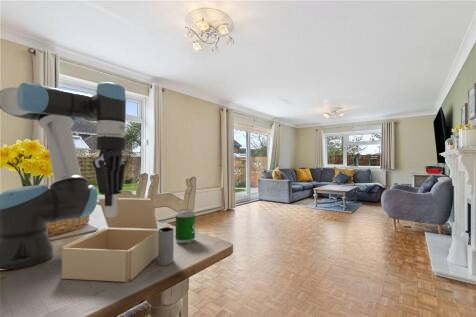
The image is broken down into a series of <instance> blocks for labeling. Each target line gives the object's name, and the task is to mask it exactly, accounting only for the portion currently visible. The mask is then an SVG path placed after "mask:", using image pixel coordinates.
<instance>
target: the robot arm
mask: <svg viewBox="0 0 476 317" xmlns="http://www.w3.org/2000/svg"><path fill="white" fill-rule="evenodd" d="M95 93H96V94H94V95H91V94H86V93H81V92H75V91H71V90H67V89H66V90H65V89H60V88H57V87H51V86H46V85H41V84H40V83H31V82H21V83H20V84H19V86H18V87H15V86H14V87H13V86H12V87H11V86H10V87H6V88H3V89H1V90H0V109H1V111H3V113H6V114H8V115H11V116H14V117H16V118H19V119H24V120H33V121H37V122H38V123H37V124H38V125H39V127H40V128H41V129H43V130H44V133H45V139H46V143H47V148H48V155H49V161H50V164H51V171H52V176H53V182H52V183H51V184H50V185H49V187H50V188H49V187H48V185H46V184H35V185H27V186H21V187H17V188H12V189H8V190H4V191H3V192H1V193H0V269H13V270H17V269H22V268H23V269H24V268H26V267H30V266H34V265H37V264H40V263H42V262H45V261H48V260H49V259H50V258H52V257H53V256H54V245H53V244H52V242H51V239H50V236H49V234H48V224H51V223H55V222H60V221H61V222H62V221H68V220H72V219H80V218H83V217H88V216H90V215H92V214H93V213H94V211H95V210H96V207H97V203H98V193H99V194H101V196H102V195H103V196H104V198H105V217H115V216H117V198H118V194H121V193H122V191H123V187H124V180H125V179H124V178H125V173H126V172H125V171H126V167H127V165H128V160H126V159H123V154H122V151H125V150H126V138H125V137H126V115H127V114H126V108H127V107H126V106H127V98H126V89H125V87H124V86H122V85H120V84H118V83H114V82H100V83H98V84H97V85H96V90H95ZM78 119H82V120H84V121H86V122H96V132H95V133H96V135H97V138H96V149H97V150H99V154H98V159H94V160H92V162H91V163H92V165H93V167H94V171H95V177H96V182H97V188H98V190H97V188H96V187H95V185H94V184H89V181H88V179H87V178H85V177H84V176H82V172H81V171H82V170H81V168H80V163H79V158H78V154H77V149H76V145H75V140H74V136H73V130H72V127H73V126H74V124H75V123H76V122H77V120H78ZM105 217H104V218H105Z"/></svg>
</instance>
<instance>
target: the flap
mask: <svg viewBox="0 0 476 317" xmlns="http://www.w3.org/2000/svg"><path fill="white" fill-rule="evenodd" d="M98 202H99V205H100V208H101V211H102V213H103V216H104V220H105V223H106V226H107V228H110V229H144V230H158V228H159V227H158V223H157V220H156V215H155V210H154V207H153V201H152V198H135V197H134V198H130V197H129V198H128V197H126V198H124V197H122V198H121V197H119V198H118V197H117V216H115V217H105V197H99V198H98Z"/></svg>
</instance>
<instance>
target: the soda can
mask: <svg viewBox="0 0 476 317" xmlns="http://www.w3.org/2000/svg"><path fill="white" fill-rule="evenodd" d="M195 238H196V213H195V211H194V210H193V209H188V208H187V209H180V210H177V212H176V213H175V241H176V242H177V243H178V242H179V243H178V244H180V243H188V242H191V241H192V242H193V241H194V240H195ZM192 242H191V243H192ZM188 244H189V243H188Z"/></svg>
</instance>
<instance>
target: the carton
mask: <svg viewBox="0 0 476 317" xmlns="http://www.w3.org/2000/svg"><path fill="white" fill-rule="evenodd" d="M158 231H159V229H140V228H108V227H107V228H106V227H104V228H102V229H100V230H97V231H94V232H93V233H90V234H88V235H86V236H84V237H81V238H79V239H77V240H75V241H72V242H70V243H67V244H65V245H63V246H61V279H63V280H64V279H65V280H66V279H68V280H84V281H85V280H86V281H105V282H106V281H107V282H121V283H122V282H124V283H125V282H127V283H128V282H130V281H132V280H133V279H135V277H137V276H139V274H140V273H141V272H142V271H143V270H144V269H145V268H146V267H147V266H148V265H149V264H150V263H151V262H153V261H154V260H155V259H156V258H157V257H158Z"/></svg>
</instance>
